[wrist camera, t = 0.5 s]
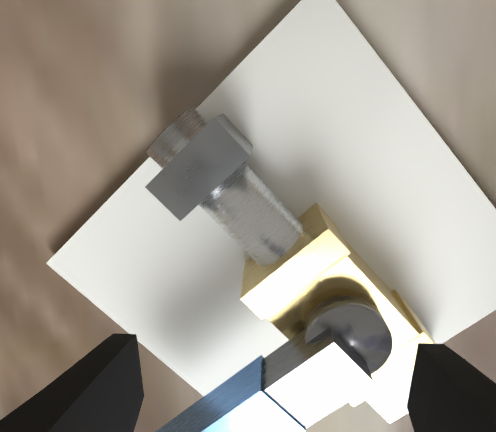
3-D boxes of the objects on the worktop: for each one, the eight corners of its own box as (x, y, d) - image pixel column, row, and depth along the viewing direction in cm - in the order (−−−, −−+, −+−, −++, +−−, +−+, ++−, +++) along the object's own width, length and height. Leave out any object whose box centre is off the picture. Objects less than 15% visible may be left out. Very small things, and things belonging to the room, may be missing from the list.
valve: (443, 342, 20) (483, 398, 16) (372, 387, 21) (394, 448, 17) (214, 90, 16) (198, 88, 12) (144, 162, 17) (111, 180, 13)
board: (536, 269, 19) (547, 277, 18) (269, 440, 24) (269, 451, 23) (317, -14, 15) (320, -20, 14) (54, 256, 20) (46, 263, 19)
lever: (350, 280, 14) (363, 308, 12) (401, 333, 15) (420, 368, 13) (144, 431, 17) (129, 472, 16) (193, 470, 18) (185, 513, 16)
